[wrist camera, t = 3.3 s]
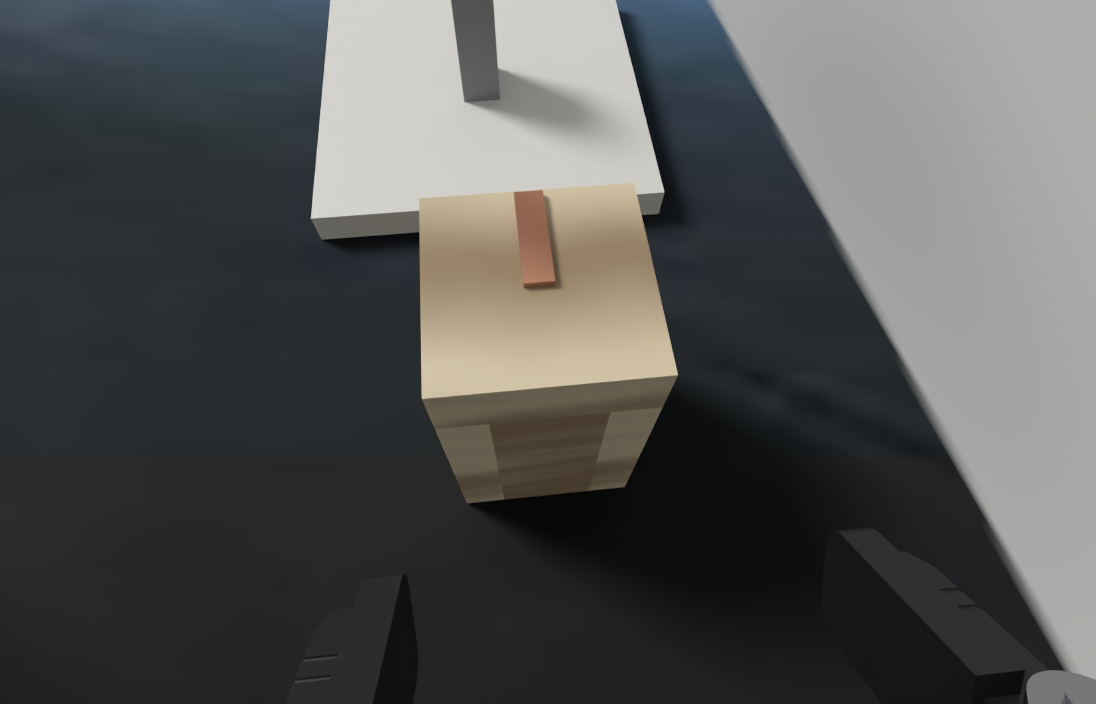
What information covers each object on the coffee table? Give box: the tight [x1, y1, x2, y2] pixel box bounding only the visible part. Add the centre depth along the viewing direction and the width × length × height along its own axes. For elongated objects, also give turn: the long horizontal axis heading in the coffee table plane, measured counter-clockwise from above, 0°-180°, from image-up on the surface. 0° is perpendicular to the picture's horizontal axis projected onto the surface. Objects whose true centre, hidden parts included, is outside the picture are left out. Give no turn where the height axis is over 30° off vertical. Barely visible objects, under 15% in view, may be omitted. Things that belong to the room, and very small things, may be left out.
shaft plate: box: [311, 0, 664, 240], centre depth 29 cm, size 16×16×8 cm
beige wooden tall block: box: [419, 183, 678, 503], centre depth 20 cm, size 6×6×10 cm
